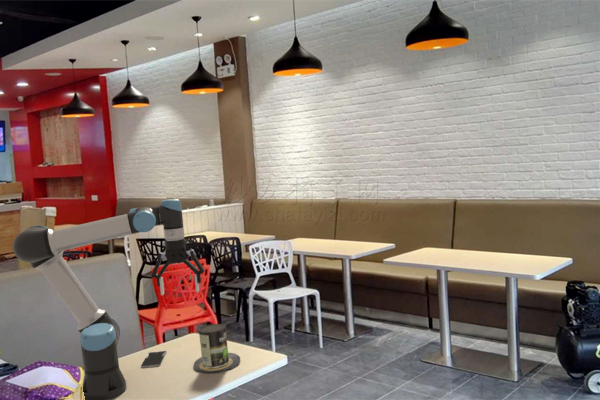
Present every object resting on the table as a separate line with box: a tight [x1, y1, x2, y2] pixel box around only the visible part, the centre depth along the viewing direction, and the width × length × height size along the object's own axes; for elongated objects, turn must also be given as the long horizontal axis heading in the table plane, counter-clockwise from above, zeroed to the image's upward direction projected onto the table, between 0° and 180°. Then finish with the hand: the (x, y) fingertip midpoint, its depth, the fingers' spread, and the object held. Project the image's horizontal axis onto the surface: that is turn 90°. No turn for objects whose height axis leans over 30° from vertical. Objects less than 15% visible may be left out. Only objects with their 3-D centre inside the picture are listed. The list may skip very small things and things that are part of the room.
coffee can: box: [198, 323, 229, 369], centre depth 211 cm, size 10×10×14 cm
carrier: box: [193, 352, 241, 374], centre depth 214 cm, size 18×19×12 cm
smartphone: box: [140, 350, 168, 369], centre depth 224 cm, size 8×1×15 cm
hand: (180, 293), depth 214 cm, fingers open, 13 cm apart
